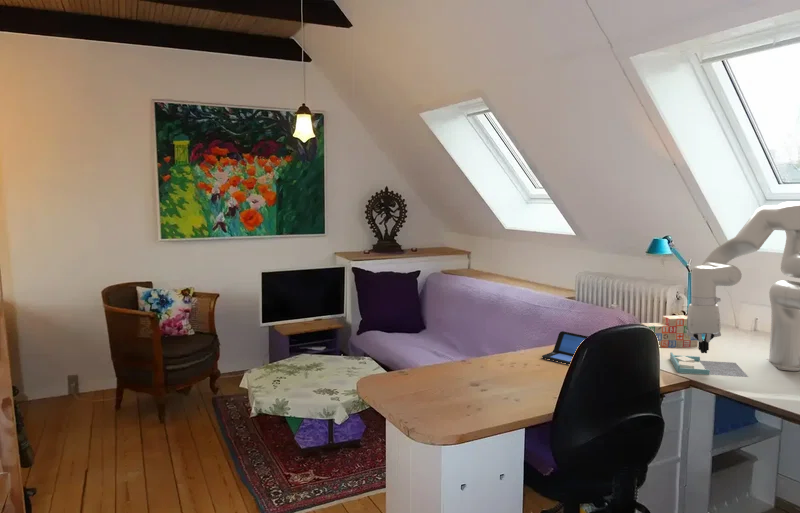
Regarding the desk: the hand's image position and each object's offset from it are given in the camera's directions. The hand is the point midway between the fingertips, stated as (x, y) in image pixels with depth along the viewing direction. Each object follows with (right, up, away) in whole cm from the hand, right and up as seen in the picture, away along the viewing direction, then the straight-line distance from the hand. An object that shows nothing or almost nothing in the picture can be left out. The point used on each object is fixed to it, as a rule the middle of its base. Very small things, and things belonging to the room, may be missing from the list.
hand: (703, 352), depth 206 cm
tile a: (-2, -7, +9) cm, 12 cm away
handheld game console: (-42, -7, +22) cm, 48 cm away
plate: (+8, -8, +2) cm, 11 cm away
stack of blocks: (+6, -4, +39) cm, 40 cm away
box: (-3, -8, +5) cm, 10 cm away
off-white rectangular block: (-5, -8, +3) cm, 9 cm away
